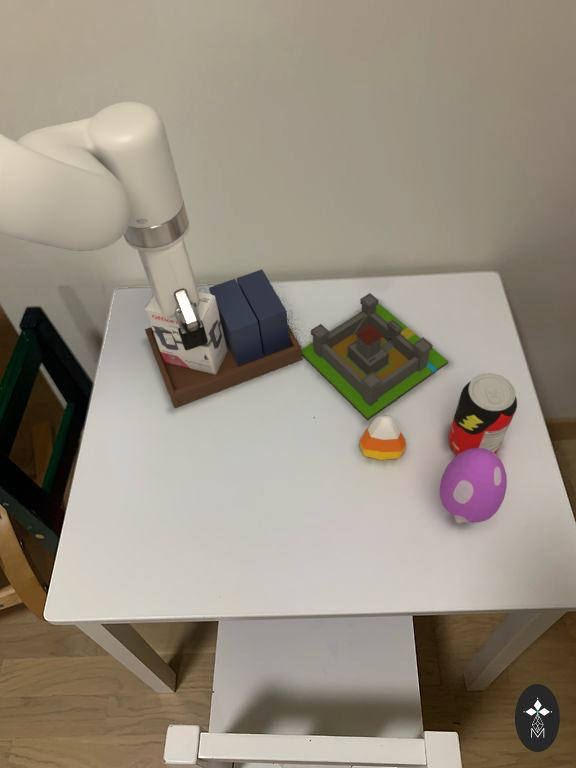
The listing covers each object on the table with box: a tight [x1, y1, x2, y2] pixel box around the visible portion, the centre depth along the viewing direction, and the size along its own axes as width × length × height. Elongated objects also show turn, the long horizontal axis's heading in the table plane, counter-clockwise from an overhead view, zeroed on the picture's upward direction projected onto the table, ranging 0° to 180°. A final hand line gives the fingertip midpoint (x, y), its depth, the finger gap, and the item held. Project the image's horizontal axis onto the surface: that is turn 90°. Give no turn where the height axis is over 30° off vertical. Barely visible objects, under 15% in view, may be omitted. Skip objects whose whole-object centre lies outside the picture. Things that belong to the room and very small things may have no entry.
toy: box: [438, 448, 508, 524], centre depth 65 cm, size 7×7×15 cm
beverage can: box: [448, 372, 518, 456], centre depth 72 cm, size 6×6×12 cm
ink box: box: [144, 290, 227, 374], centre depth 82 cm, size 8×5×12 cm, turn 72°
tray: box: [144, 324, 303, 409], centre depth 87 cm, size 20×14×3 cm
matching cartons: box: [208, 269, 290, 367], centre depth 86 cm, size 8×9×8 cm
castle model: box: [301, 292, 449, 421], centre depth 83 cm, size 15×15×7 cm
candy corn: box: [358, 414, 407, 461], centre depth 74 cm, size 6×3×8 cm, turn 83°
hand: (185, 320), depth 81 cm, fingers closed on ink box, 9 cm apart
